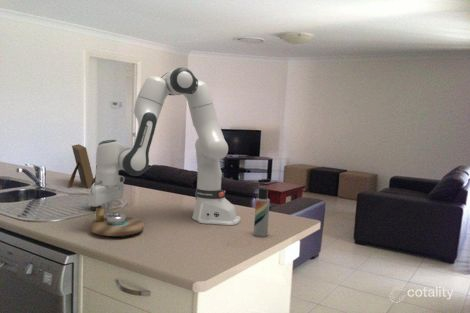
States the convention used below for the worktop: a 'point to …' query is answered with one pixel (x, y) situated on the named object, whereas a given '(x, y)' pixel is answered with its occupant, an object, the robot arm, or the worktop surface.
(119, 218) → the cover
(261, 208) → the lotion bottle
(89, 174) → the photo frame
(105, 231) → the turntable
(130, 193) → the worktop surface
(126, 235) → the turntable base
